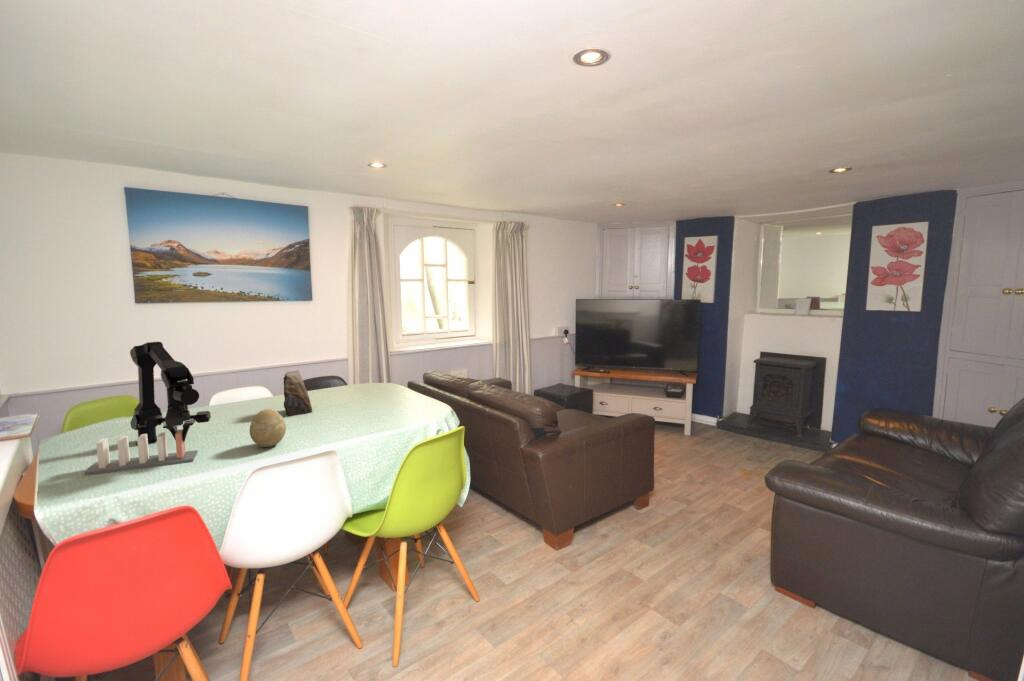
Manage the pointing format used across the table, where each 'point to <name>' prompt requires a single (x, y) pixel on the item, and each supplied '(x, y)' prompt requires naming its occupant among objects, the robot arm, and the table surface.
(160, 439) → the domino
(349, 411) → the table surface
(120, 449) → the domino
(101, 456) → the domino
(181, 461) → the board
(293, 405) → the tapered brown rock
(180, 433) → the brick domino
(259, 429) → the fossilized egg
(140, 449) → the domino
